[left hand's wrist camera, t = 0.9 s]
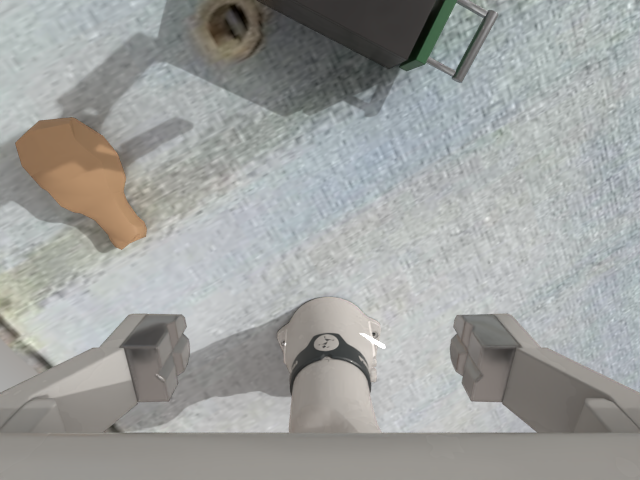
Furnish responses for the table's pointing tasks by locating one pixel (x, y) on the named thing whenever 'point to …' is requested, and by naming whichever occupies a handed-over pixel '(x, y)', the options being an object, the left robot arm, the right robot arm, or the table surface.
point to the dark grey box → (363, 24)
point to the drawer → (434, 29)
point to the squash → (81, 175)
